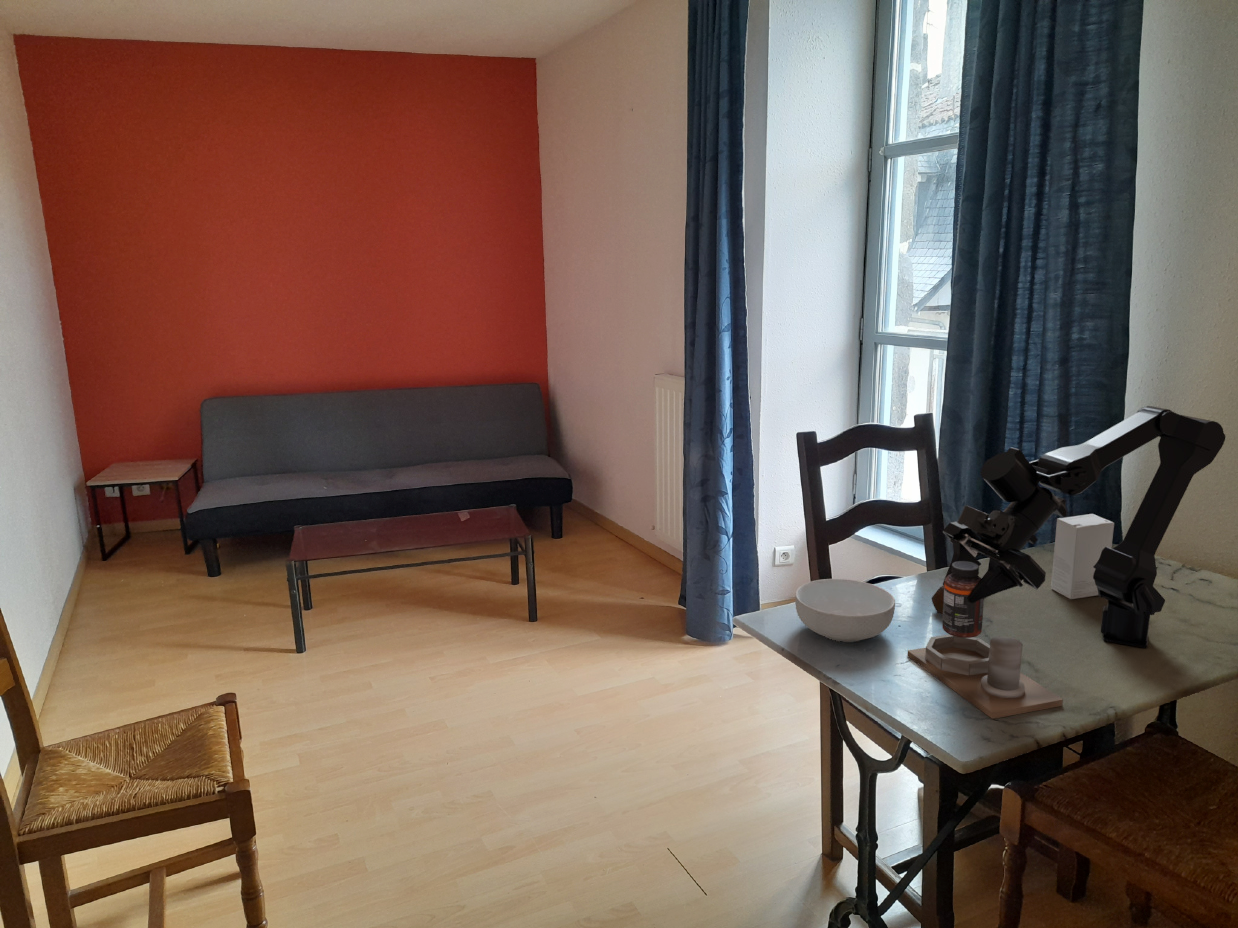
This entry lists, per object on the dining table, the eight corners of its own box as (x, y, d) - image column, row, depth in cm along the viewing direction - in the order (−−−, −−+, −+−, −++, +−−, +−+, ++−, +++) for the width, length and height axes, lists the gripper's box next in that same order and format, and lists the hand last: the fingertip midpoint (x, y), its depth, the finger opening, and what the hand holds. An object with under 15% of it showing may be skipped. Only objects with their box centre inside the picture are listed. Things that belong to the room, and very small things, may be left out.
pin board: (907, 655, 145) (910, 608, 143) (969, 645, 148) (973, 599, 146) (992, 718, 125) (996, 664, 123) (1062, 705, 128) (1067, 652, 126)
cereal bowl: (832, 662, 143) (834, 621, 142) (775, 624, 158) (776, 587, 157) (914, 641, 150) (916, 603, 148) (852, 607, 165) (853, 572, 163)
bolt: (978, 600, 171) (948, 623, 160) (956, 583, 174) (926, 604, 163) (995, 579, 168) (966, 600, 157) (973, 562, 171) (943, 582, 160)
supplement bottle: (974, 623, 143) (979, 558, 140) (987, 639, 137) (992, 571, 134) (936, 623, 143) (941, 558, 140) (948, 639, 138) (952, 572, 135)
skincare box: (1085, 584, 173) (1093, 512, 169) (1108, 595, 167) (1116, 521, 164) (1048, 589, 171) (1055, 516, 168) (1070, 600, 165) (1077, 525, 162)
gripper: (955, 474, 144) (893, 545, 144) (1035, 504, 127) (964, 585, 127) (994, 514, 148) (933, 584, 148) (1076, 549, 131) (1007, 628, 131)
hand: (956, 593), depth 138 cm, fingers closed on supplement bottle, 6 cm apart
